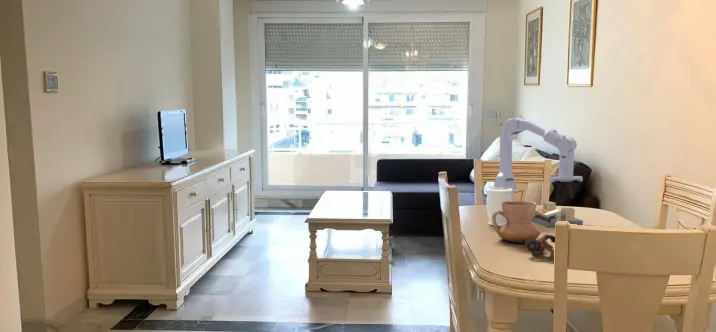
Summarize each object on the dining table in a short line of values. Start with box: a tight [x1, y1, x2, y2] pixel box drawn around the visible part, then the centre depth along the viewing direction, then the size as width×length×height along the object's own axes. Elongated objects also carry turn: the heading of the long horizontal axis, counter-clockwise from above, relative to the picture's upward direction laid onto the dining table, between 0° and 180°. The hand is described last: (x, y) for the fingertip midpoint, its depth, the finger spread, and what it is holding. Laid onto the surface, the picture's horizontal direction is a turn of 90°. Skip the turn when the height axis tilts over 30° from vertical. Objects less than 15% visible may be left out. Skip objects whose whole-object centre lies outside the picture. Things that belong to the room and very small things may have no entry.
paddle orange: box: [537, 208, 556, 216], centre depth 249 cm, size 7×3×2 cm, turn 101°
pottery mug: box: [525, 234, 556, 261], centre depth 190 cm, size 12×10×8 cm
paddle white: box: [542, 208, 561, 218], centre depth 246 cm, size 7×3×2 cm, turn 102°
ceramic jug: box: [492, 200, 543, 244], centre depth 212 cm, size 18×14×14 cm
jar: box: [486, 186, 512, 227], centre depth 241 cm, size 11×10×15 cm
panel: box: [531, 201, 584, 228], centre depth 246 cm, size 16×18×7 cm
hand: (565, 198), depth 246 cm, fingers open, 5 cm apart
